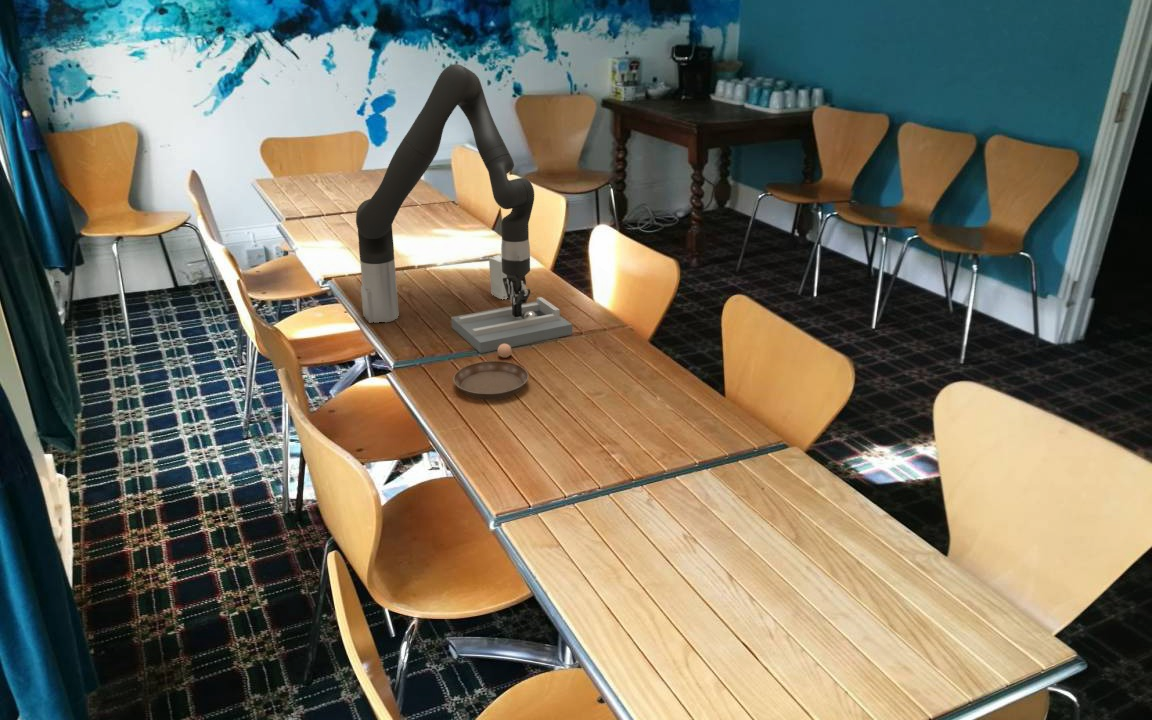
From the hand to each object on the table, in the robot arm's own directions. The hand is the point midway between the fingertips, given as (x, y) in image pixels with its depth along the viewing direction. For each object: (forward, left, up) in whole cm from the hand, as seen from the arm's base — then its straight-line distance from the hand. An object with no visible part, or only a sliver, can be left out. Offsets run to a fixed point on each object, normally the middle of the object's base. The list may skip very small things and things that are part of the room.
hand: (517, 315), depth 240 cm
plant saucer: (-21, -29, -5) cm, 36 cm away
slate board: (-2, 0, -4) cm, 4 cm away
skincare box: (+7, +26, -4) cm, 28 cm away
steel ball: (+4, 0, -2) cm, 4 cm away
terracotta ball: (-11, -15, -2) cm, 18 cm away
